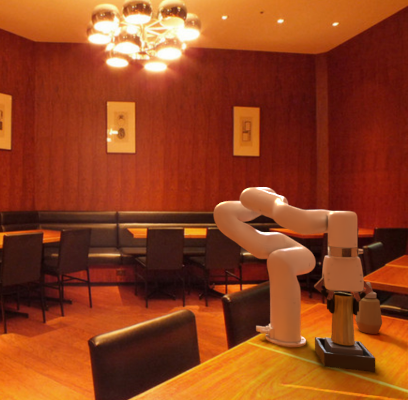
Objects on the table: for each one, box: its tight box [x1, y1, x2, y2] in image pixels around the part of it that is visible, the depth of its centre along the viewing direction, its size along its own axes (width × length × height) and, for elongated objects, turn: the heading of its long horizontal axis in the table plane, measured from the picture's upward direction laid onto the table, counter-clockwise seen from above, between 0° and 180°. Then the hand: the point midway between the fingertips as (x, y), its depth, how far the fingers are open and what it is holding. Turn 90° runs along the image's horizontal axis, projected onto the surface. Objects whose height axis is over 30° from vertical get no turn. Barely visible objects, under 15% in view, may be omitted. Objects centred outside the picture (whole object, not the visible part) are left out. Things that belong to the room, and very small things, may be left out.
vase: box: [330, 291, 356, 346], centre depth 112 cm, size 6×6×14 cm
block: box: [324, 337, 363, 356], centre depth 112 cm, size 8×8×5 cm
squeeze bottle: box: [354, 281, 383, 335], centre depth 137 cm, size 8×8×18 cm
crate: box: [314, 337, 376, 374], centre depth 112 cm, size 13×13×4 cm
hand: (342, 312), depth 112 cm, fingers closed on vase, 5 cm apart
